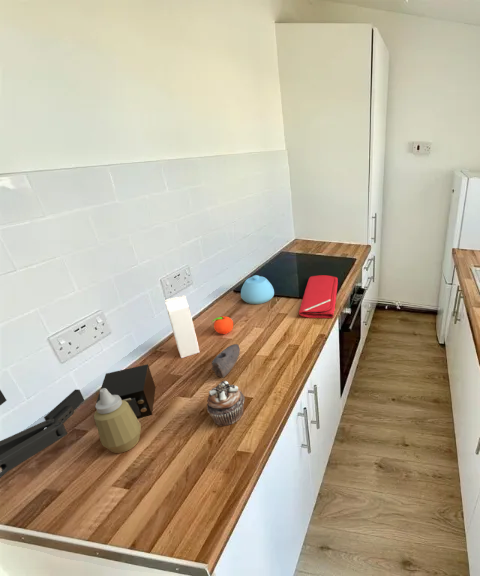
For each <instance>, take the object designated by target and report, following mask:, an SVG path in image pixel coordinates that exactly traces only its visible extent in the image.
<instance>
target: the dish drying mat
mask: <svg viewBox="0 0 480 576" xmlns="http://www.w3.org/2000/svg"><path fill="white" fill-rule="evenodd" d="M338 281H339V278H338V277H337V276H333V275H325V274H324V275H322V274H320V275H312V276H309V278H308V280H307V283H306V286H305V290H304V293H303V296H302V300H301V303H300V307H299V310H298V315H299V316H300V317H303V318H307V319H309V318H310V319H333V318H334V314H335V309H336V304H337V303H336V302H337V294H338V285H339V282H338Z"/></svg>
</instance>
